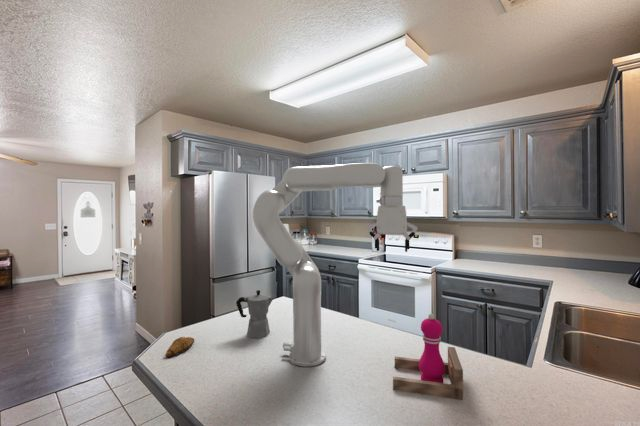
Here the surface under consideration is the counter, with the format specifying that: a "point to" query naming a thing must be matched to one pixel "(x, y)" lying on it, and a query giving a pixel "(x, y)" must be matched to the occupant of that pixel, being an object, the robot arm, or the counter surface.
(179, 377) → the counter surface
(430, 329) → the pepper mill
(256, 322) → the coffeepot
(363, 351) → the counter surface
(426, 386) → the spice rack
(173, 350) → the croissant
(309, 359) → the robot arm
